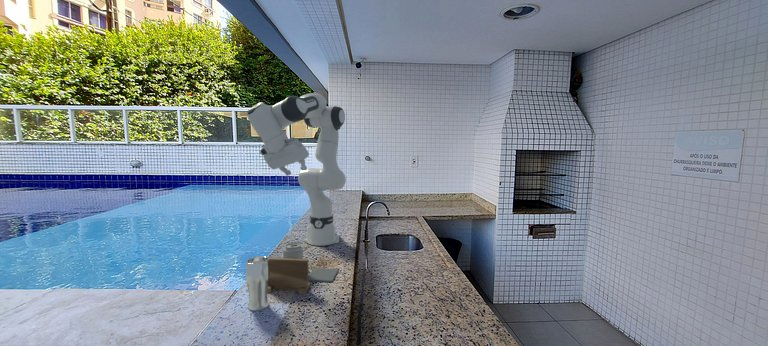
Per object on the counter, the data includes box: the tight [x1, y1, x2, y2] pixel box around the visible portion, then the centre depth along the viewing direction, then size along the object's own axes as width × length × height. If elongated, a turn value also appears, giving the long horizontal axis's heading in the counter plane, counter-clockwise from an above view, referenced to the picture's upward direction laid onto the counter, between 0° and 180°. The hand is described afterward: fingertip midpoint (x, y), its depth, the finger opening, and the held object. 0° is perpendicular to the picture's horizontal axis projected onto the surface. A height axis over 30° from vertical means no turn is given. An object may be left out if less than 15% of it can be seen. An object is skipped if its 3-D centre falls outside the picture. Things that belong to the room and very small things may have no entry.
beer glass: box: [245, 255, 270, 312], centre depth 97 cm, size 7×7×15 cm
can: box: [282, 242, 304, 259], centre depth 122 cm, size 8×8×12 cm
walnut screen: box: [267, 257, 311, 295], centre depth 109 cm, size 6×14×11 cm, turn 86°
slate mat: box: [308, 267, 339, 283], centre depth 122 cm, size 11×10×1 cm
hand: (296, 172), depth 126 cm, fingers open, 8 cm apart
